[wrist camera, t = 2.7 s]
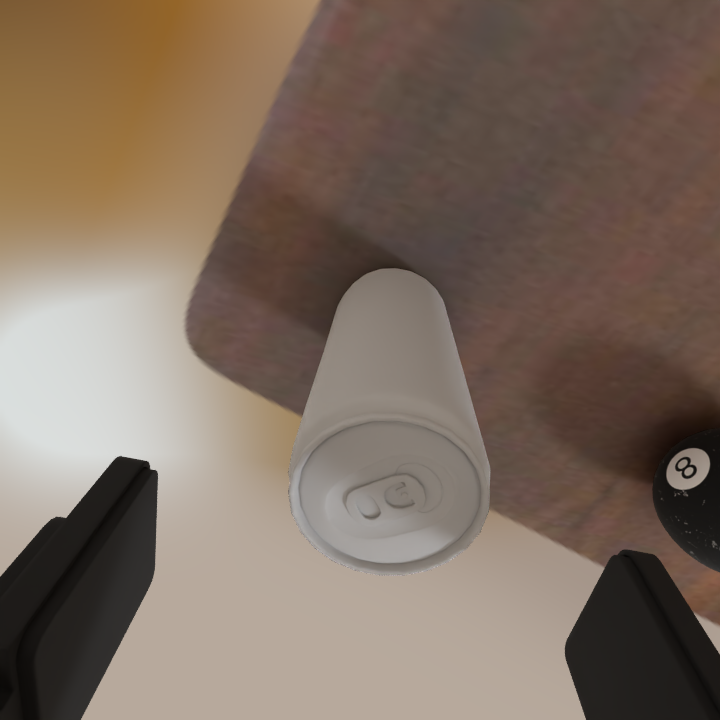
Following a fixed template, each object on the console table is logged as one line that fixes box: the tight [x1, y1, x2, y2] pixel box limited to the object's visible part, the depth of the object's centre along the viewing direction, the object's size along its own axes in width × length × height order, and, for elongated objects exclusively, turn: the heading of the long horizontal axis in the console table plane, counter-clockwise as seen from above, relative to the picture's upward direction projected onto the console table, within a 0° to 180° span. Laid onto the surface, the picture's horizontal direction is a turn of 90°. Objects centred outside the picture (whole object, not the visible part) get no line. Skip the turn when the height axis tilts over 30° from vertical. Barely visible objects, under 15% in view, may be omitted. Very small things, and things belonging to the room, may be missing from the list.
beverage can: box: [288, 268, 490, 575], centre depth 17 cm, size 5×5×12 cm
